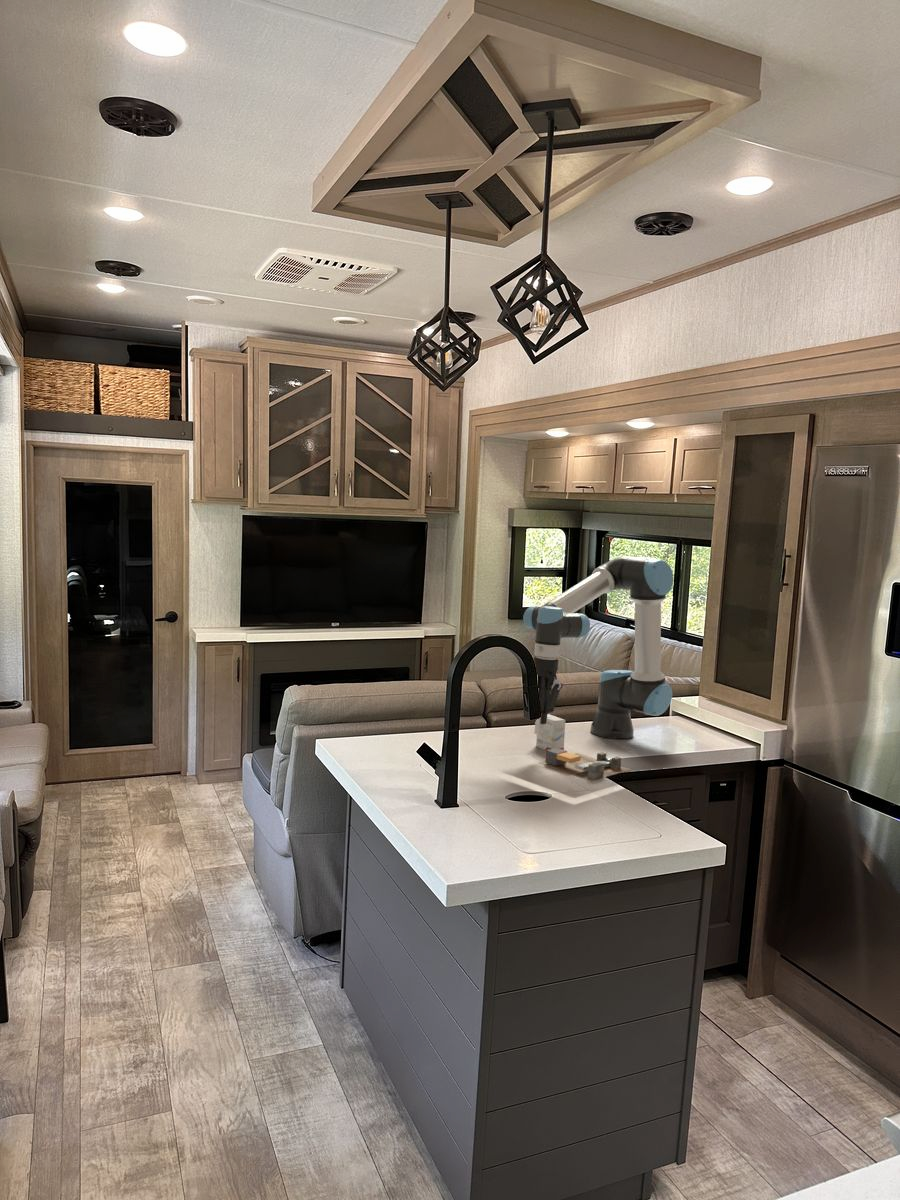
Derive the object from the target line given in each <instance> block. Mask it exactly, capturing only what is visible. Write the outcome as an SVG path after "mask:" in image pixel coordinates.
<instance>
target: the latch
mask: <svg viewBox="0 0 900 1200" xmlns="http://www.w3.org/2000/svg"><path fill="white" fill-rule="evenodd" d="M580 759H581V756H579V755H576V754H575V753H573V752H569V751H567V750H565V749H564V750H562V749H558V748H555V749H550V750H545V761H546V762H545V763H548V764H551V765H554V766H559V765H562V764H566V762H568V763H573V762H577V761H580Z"/></svg>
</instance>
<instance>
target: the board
mask: <svg viewBox="0 0 900 1200" xmlns="http://www.w3.org/2000/svg"><path fill="white" fill-rule="evenodd" d="M574 754H576V755H579V756H581V759H580V761H577V762H573V763H568V762H566V764H562V765H559V766H554V765H551V764H548V763H545V762H546V760H542V761H539V762H537V764H539V765H542V766H545V767H549V768H551V769H554V770H558V771H561V772H564V773H566V774H570V775H573V776H574V777H575V776H576V777H578V778H581V779H584V780H588V781H591V782H592V781H596V780H600V779H604V778H606V777H610V776H614V775H618V774H621V773H624V772H627V771H631V769H630V768H627V767H624V766H622V757H619V756H615V757H612V758H611V760H612V765H611V766H609V767H604V763H600V762H597V763H593V764H590V765H589V766H588V770H585V771H582V770H579V769H576V768H575V765H576V764H583V763H590V762H596V761H603V759H604V758H607V754H608V753H606V752H603V751H602V752H597V754H596V758H594V757H591V756H588V755H585V754H581V753H578V752H575V753H574Z"/></svg>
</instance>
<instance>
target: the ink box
mask: <svg viewBox="0 0 900 1200" xmlns="http://www.w3.org/2000/svg"><path fill="white" fill-rule="evenodd" d="M565 730H566V719H563V718H561V717H557V716H556V715H552V714H551V713H548V714H547V722H546V724H545V725H544V734H540V735H537V734H536V742H535V743H536V744H535V747H537V748H540V749H541V750H544V751H546V750H550V749H555V748H558V749H562V750H565V734H566V733H565V732H566V731H565Z"/></svg>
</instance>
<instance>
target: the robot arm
mask: <svg viewBox="0 0 900 1200" xmlns="http://www.w3.org/2000/svg"><path fill="white" fill-rule="evenodd" d="M673 585H674V573H673V569H672V567H671V566H670V564H669V563H668V561H665V560H664V559H659V558H655V557H644V556H643V557H642V556H632V555H624V556H618V557H617V558H614V559H611V560H609V561H606V562H605V563H603V564H601V565H599V566H598V567H596V568H594V570H593V571H592V573H591V574H590V575H589V576H587V577H586V578H584V579H582V580H580V581H579V582H578V583H577V584H575V585H573V586H571V587H570V588H569V589H566V590H565V591H563V592H562V593H560V594H559V595H557V596H555V597H554V598H552V599H551V600H550V601H548V602H546V603H545V604H543V605H541V606H529V607H528V608H527V609H526V610H525V612H523V617H522V618H523V624H524V626H525V627H526V628H527V629H529V630H533V631H535V642H534V652H533V655H534V657H533V660H534V662H535V665H536V670H537V674H538V688H539V698H540V707H541V717H540V718H539V719H537V720H536V721H534V720H533V722H534V732H533V733H534V735H536V736H537V735H540V734H544V725H545V724H546V722H547V714H551V713H554V711H555V707H556V704H557V701H558V697H559V695H560V694H559V693H560V691H561V690H562V688H563V686H564V684H563V683H560V682H559V681H558V677H557V672H558V668H559V659H558V658H560V649H561V648H560V647H561V639H562V638H563V639H564V638H565V639H566V638H568V639H569V638H573V639H574V638H575V639H578V638H584V637H586V636H587V634H589V632H590V629H591V622H590V619H589V617H588V616H587V615H586V614H584V613H578V612H577V611H578V610H580V609H582V608H583V607H585V606H586V605H588V604H590V603H591V602H593V601H594V600H595V599H597V598H599V597H601V596H602V595H603V594H610V593H612V592H613V591H616V590H617V591H618V590H626V591H630V592H629V594H630V599H631V601H633V603H634V670H628V669H627V670H626V669H608V670H607V669H606V670H603V671H602V672H601V675H600V677H599V683H598V684H599V688H598V698H597V699H598V700H597V710H596V713H595V715H594V717H593V720H592V722H591V724H590V732H591V733H592V734H594V735H595V736H599V737H604V738H608V739H614V738H628V739H630V738H629V737H632V736H633V737H634V732H635V731H634V729H635V728H634V725H633V720H632V718H631V711H633V712H638V713H641V714H645V715H646V716H655V717H657V716H660V715H663V713H665V712H666V711H667V710H668V708H669V706H670V704H671V702H672V698H673V689H672V687H671V686H670V685H669V684H668V683H666V675H665V673H664V672H663V671H661V666H662V665H661V657H662V654H661V650H662V649H661V648H662V644H661V643H662V641H661V640H662V639H661V638H662V635H661V633H662V602H664V601H665V600H666V599H667V598H666V597H667V596H666V595H667V594H669V593H670V592H671V591H672V587H673ZM633 737H632V738H633Z"/></svg>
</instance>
